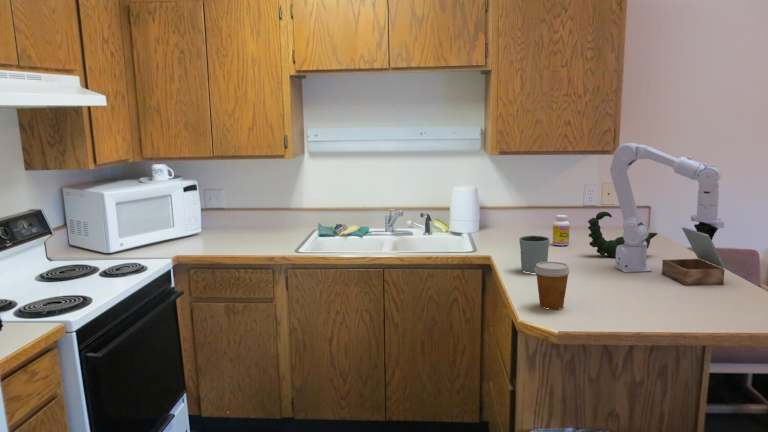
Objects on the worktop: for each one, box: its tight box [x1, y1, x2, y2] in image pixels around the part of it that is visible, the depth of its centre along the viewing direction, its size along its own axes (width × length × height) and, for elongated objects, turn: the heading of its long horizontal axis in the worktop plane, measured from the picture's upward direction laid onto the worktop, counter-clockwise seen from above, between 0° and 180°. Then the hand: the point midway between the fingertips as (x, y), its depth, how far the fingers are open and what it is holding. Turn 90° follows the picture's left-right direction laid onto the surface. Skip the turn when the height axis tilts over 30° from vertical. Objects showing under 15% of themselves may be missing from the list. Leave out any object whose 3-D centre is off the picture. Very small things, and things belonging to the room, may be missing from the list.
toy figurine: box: [587, 211, 658, 259], centre depth 205 cm, size 9×19×25 cm
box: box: [661, 258, 725, 287], centre depth 174 cm, size 12×14×5 cm
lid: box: [681, 226, 726, 269], centre depth 172 cm, size 12×14×1 cm
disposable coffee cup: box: [535, 261, 571, 310], centre depth 151 cm, size 10×10×12 cm
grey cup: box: [519, 235, 550, 273], centre depth 188 cm, size 10×10×12 cm
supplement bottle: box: [552, 214, 571, 246], centre depth 228 cm, size 7×7×13 cm
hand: (705, 246), depth 173 cm, fingers closed, pressing on lid
